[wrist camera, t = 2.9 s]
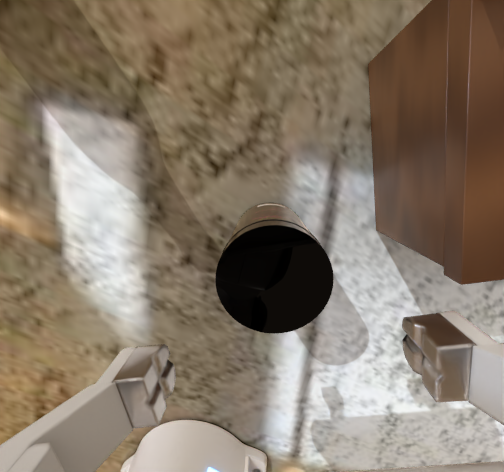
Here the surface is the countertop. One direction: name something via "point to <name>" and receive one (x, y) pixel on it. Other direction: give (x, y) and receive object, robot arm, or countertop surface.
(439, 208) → the wooden stand
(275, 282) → the supplement container
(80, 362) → the countertop surface
